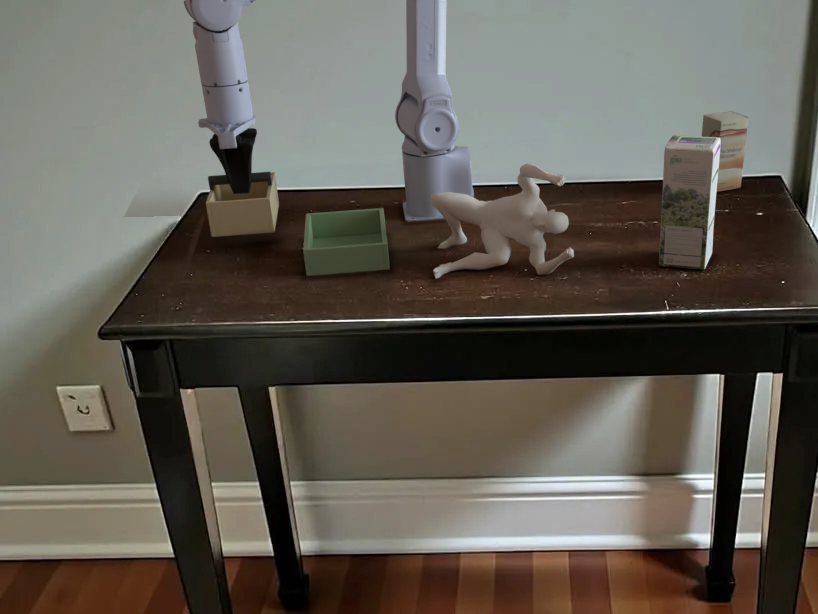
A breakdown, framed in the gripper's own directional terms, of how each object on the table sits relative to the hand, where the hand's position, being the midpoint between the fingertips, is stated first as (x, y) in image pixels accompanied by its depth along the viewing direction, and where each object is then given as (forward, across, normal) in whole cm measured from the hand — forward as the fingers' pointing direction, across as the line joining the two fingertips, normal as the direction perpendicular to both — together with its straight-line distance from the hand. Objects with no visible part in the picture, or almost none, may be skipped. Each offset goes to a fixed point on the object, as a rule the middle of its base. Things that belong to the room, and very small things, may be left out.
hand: (242, 190), depth 139 cm
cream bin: (+4, 0, 0) cm, 4 cm away
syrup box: (+7, +20, +54) cm, 58 cm away
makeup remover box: (+7, -8, +67) cm, 68 cm away
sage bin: (+7, +8, +13) cm, 17 cm away
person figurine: (+7, +16, +32) cm, 36 cm away
